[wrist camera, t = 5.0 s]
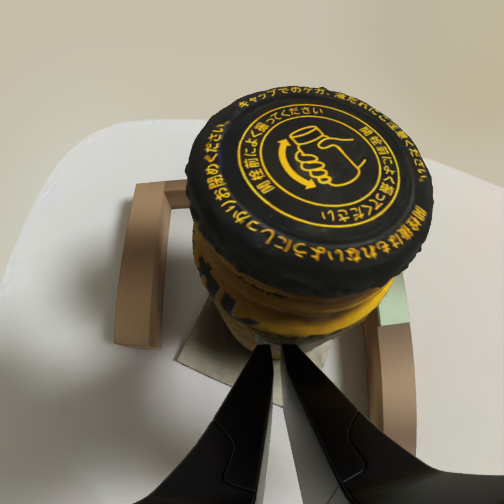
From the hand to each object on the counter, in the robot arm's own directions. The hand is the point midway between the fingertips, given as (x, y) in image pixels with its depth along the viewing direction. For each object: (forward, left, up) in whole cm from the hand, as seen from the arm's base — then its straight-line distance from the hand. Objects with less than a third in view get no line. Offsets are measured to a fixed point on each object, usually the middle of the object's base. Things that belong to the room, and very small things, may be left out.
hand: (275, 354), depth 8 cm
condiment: (+2, +1, -7) cm, 8 cm away
